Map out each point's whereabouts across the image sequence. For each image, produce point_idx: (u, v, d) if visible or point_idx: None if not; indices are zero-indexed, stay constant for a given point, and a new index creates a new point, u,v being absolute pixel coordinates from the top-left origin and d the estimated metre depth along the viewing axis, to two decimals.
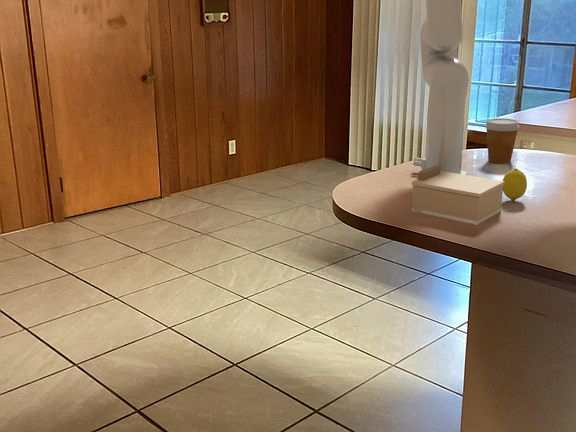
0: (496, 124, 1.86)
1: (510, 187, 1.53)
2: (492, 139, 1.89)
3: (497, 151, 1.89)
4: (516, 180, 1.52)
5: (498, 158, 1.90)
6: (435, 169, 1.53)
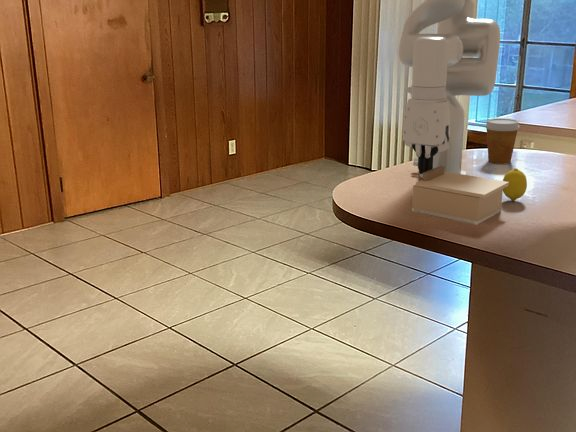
0: (496, 124, 1.86)
1: (510, 187, 1.53)
2: (492, 139, 1.89)
3: (497, 151, 1.89)
4: (516, 180, 1.52)
5: (498, 158, 1.90)
6: (439, 170, 1.52)
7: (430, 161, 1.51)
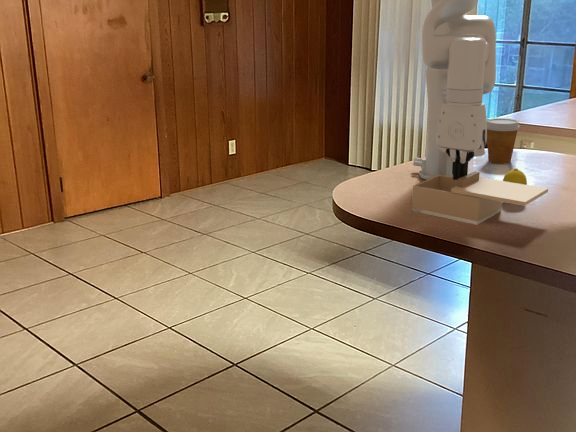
0: (496, 124, 1.86)
1: None
2: (492, 139, 1.89)
3: (497, 151, 1.89)
4: (516, 180, 1.52)
5: (498, 158, 1.90)
6: (474, 175, 1.47)
7: (465, 166, 1.45)
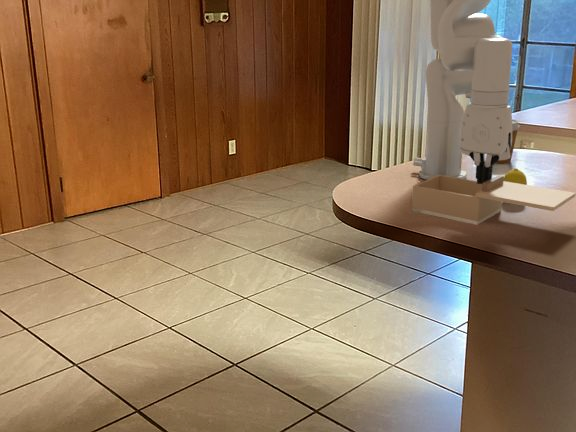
0: None
1: None
2: None
3: None
4: (516, 180, 1.52)
5: None
6: (498, 179, 1.43)
7: (490, 170, 1.42)
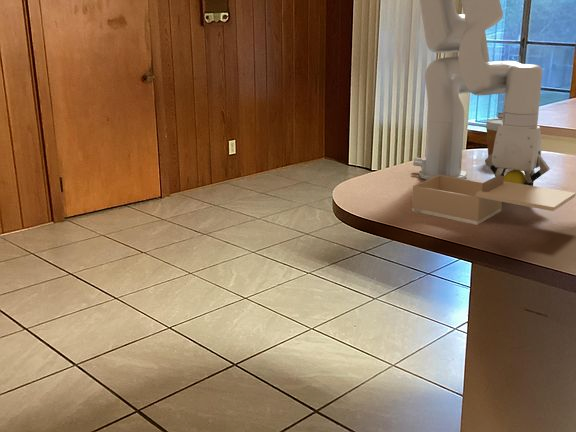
0: (496, 124, 1.86)
1: None
2: (492, 139, 1.89)
3: None
4: (516, 180, 1.52)
5: None
6: (499, 179, 1.43)
7: None
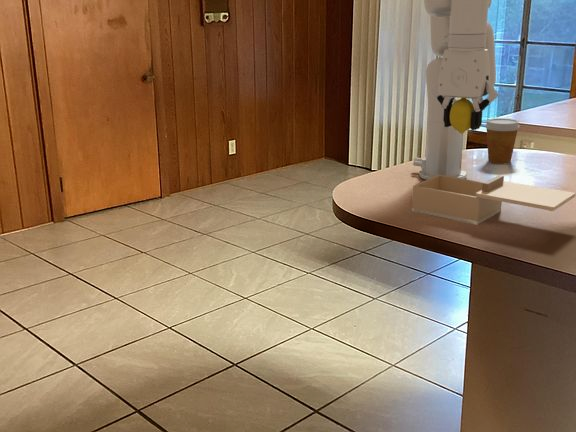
0: (496, 124, 1.86)
1: (457, 118, 1.41)
2: (492, 139, 1.89)
3: (497, 151, 1.89)
4: (463, 109, 1.40)
5: (498, 158, 1.90)
6: (499, 179, 1.43)
7: (479, 115, 1.40)
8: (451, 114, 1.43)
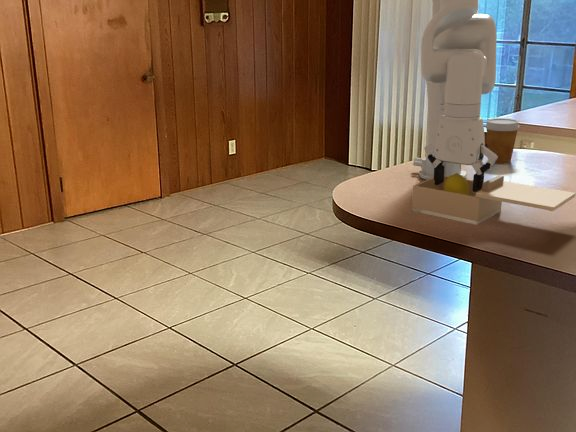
0: (496, 124, 1.86)
1: None
2: (492, 139, 1.89)
3: (497, 151, 1.89)
4: (456, 185, 1.46)
5: (498, 158, 1.90)
6: (499, 179, 1.43)
7: (481, 177, 1.44)
8: (445, 189, 1.48)
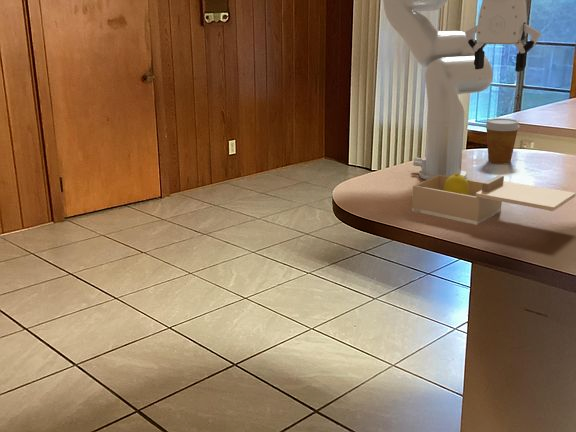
0: (496, 124, 1.86)
1: None
2: (492, 139, 1.89)
3: (497, 151, 1.89)
4: (456, 185, 1.46)
5: (498, 158, 1.90)
6: (499, 179, 1.43)
7: (524, 57, 1.46)
8: (445, 189, 1.48)
